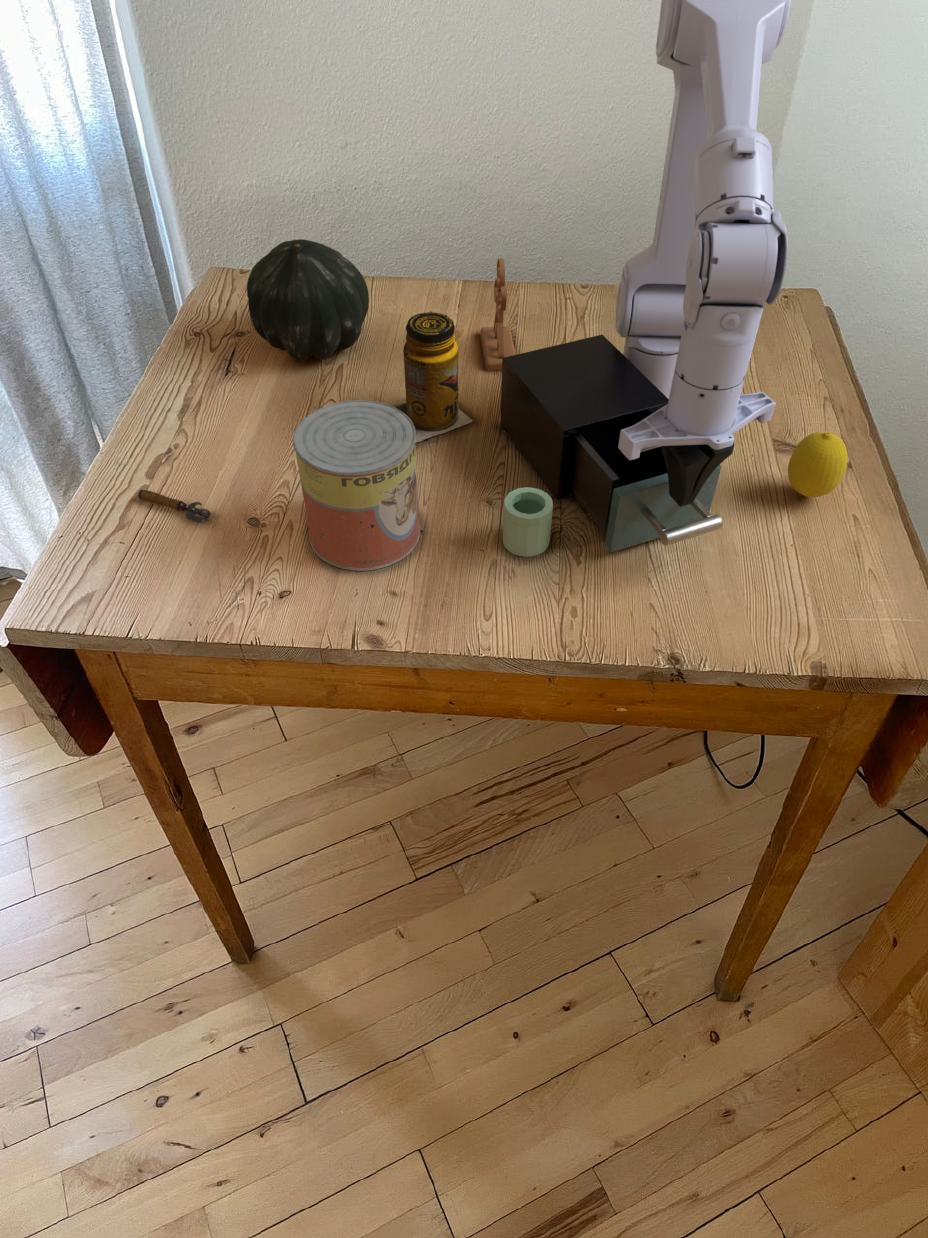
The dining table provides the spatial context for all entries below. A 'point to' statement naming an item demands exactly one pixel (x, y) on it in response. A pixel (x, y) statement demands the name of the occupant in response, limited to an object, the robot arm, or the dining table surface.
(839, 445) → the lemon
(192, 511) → the can opener
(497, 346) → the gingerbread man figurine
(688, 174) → the robot arm
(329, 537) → the canned food
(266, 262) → the squash
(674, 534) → the drawer
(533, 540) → the jar
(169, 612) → the dining table surface
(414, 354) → the condiment
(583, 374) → the cabinet
